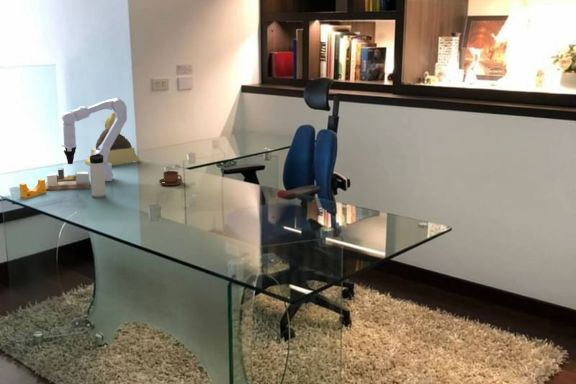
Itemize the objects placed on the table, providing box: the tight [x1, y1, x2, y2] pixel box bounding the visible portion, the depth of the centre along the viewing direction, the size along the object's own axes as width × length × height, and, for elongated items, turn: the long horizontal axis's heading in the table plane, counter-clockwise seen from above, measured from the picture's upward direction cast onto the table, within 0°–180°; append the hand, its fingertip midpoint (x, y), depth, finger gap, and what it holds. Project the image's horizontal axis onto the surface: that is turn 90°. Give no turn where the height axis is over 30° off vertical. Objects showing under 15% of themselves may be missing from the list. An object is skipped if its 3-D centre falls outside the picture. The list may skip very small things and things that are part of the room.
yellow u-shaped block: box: [19, 178, 47, 199], centre depth 307 cm, size 12×4×6 cm, turn 146°
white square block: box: [46, 172, 58, 186], centre depth 321 cm, size 4×5×6 cm
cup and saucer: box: [158, 170, 184, 186], centre depth 332 cm, size 12×12×6 cm
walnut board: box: [45, 181, 90, 192], centre depth 324 cm, size 21×14×1 cm, turn 105°
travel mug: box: [89, 154, 107, 199], centre depth 305 cm, size 6×7×20 cm
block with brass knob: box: [57, 167, 76, 182], centre depth 322 cm, size 14×3×7 cm, turn 105°
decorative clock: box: [84, 111, 141, 167], centre depth 373 cm, size 28×13×30 cm, turn 129°
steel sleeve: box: [75, 171, 90, 186], centre depth 325 cm, size 6×5×6 cm
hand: (70, 162), depth 329 cm, fingers open, 7 cm apart
